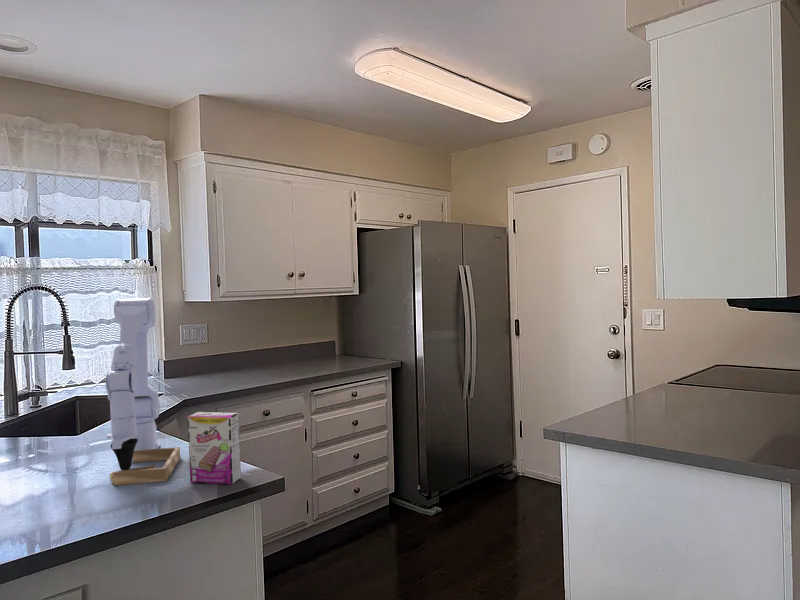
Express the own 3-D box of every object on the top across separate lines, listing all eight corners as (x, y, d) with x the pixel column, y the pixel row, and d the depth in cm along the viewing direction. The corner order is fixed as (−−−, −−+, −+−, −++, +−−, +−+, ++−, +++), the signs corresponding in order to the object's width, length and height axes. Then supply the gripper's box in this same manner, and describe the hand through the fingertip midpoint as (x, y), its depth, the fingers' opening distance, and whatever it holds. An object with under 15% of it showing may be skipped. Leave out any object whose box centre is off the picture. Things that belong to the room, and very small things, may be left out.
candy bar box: (189, 484, 142) (186, 416, 141) (199, 476, 147) (196, 411, 146) (233, 485, 140) (230, 416, 139) (242, 478, 145) (239, 411, 144)
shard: (155, 470, 155) (155, 463, 154) (160, 478, 148) (160, 471, 148) (109, 478, 149) (109, 471, 149) (112, 487, 142) (112, 479, 142)
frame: (133, 461, 161) (133, 450, 161) (180, 457, 163) (179, 446, 163) (113, 485, 142) (113, 473, 142) (166, 480, 145) (166, 468, 145)
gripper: (114, 411, 158) (117, 461, 158) (97, 424, 143) (100, 480, 144) (142, 409, 159) (145, 459, 160) (128, 422, 145) (131, 477, 145)
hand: (125, 469), depth 152 cm, fingers closed
